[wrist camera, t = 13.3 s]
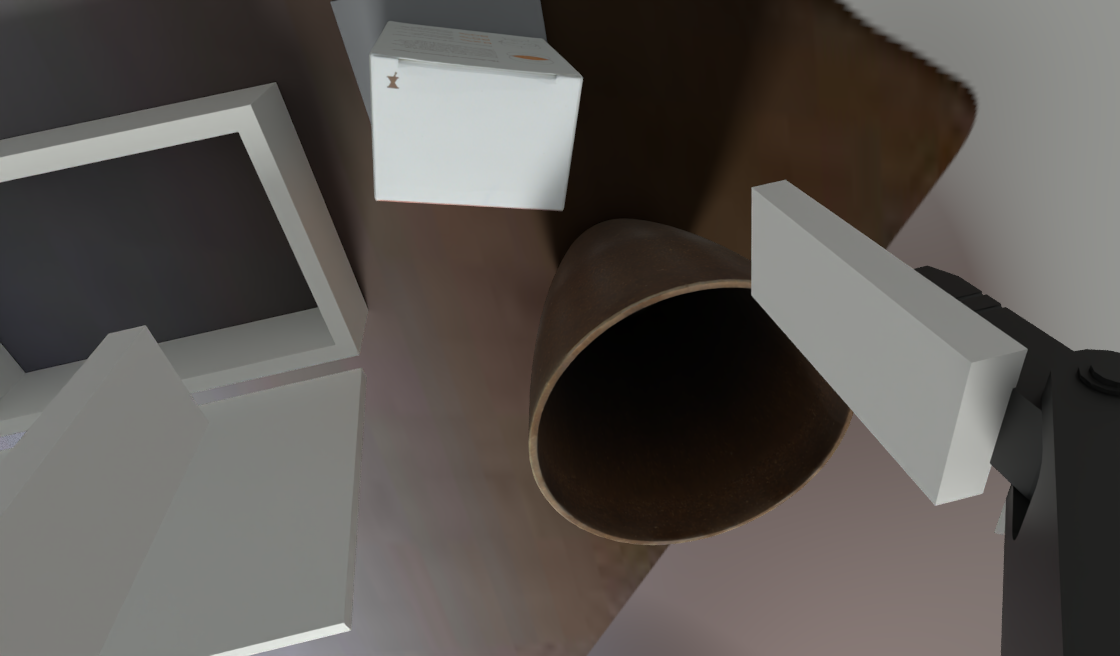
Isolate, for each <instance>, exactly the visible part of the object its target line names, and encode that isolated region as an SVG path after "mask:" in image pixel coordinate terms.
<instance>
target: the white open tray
mask: <svg viewBox="0 0 1120 656" xmlns="http://www.w3.org/2000/svg"><path fill="white" fill-rule="evenodd" d="M235 132H239V134H240V137H241V139H242V141H243V143H244V145H245V148H246V150H247V152H248V154H249V156H250V159H251V161H252V163H253V165H254V167H255V170H256V172H257V174H258V176H259V178H260V180H261V183H262V185H263V187H264V189H265V191H266V194H267V196H268V198H269V200H270V202H271V205H272V207H273V209H274V211H275V213H276V215H277V218H278V220H279V222H280V224H281V226H282V229H283V231H284V233H285V235H286V237H287V240H288V242H289V244H290V246H291V248H292V251H293V253H294V255H295V257H296V259H297V261H298V264H299V266H300V268H301V270H302V272H303V275H304V277H305V279H306V281H307V283H308V286H309V288H310V290H311V292H312V294H313V296H314V299H315V301H316V303H317V305H318V307H317V308H312V309H308V310H304V311H299V312H295V313H290V314H286V315H281V316H277V317H272V318H268V319H263V320H259V321H255V322H250V323H246V324H241V325H237V326H232V327H228V328H223V329H219V330H215V331H210V332H206V333H201V334H197V335H192V336H188V337H183V338H179V339H175V340H170V341H166V342H161V343H158V345H159V346H160V348H161V350H162V351H163V353H164V354H165V356H166V357H167V359H168V360H169V362H170V363H171V365H172V366H173V368H174V370H175V371H176V373H177V374H178V376H179V377H180V379H181V380H182V382H183V383H184V385H185V386H186V388H187V389H188V391H189V393H190V394H191V393H195V392H200V391H204V390H209V389H213V388H217V387H222V386H226V385H230V384H235V383H239V382H244V381H248V380H252V379H257V378H261V377H266V376H270V375H274V374H279V373H283V372H287V371H292V370H296V369H301V368H305V367H309V366H314V365H318V364H322V363H327V362H331V361H336V360H340V359H344V358H349V357H353V356H357V355H360V350H361V345H362V340H363V335H364V330H365V325H366V320H367V315H368V308H367V306H366V303H365V301H364V298H363V296H362V293H361V291H360V288H359V286H358V283H357V281H356V278H355V276H354V273H353V271H352V268H351V266H350V264H349V261H348V259H347V256H346V254H345V251H344V249H343V246H342V244H341V241H340V239H339V236H338V234H337V231H336V229H335V226H334V224H333V221H332V219H331V217H330V214H329V212H328V209H327V207H326V204H325V202H324V199H323V197H322V194H321V192H320V189H319V187H318V184H317V182H316V179H315V177H314V175H313V172H312V170H311V167H310V165H309V162H308V160H307V157H306V155H305V152H304V150H303V147H302V145H301V142H300V140H299V137H298V135H297V132H296V130H295V128H294V125H293V123H292V120H291V118H290V115H289V113H288V110H287V108H286V105H285V103H284V100H283V98H282V95H281V93H280V90H279V88H278V86H277V83H276V82H274V83H270V84H265V85H260V86H255V87H250V88H246V89H241V90H236V91H231V92H227V93H222V94H217V95H212V96H208V97H203V98H198V99H193V100H189V101H184V102H179V103H174V104H169V105H165V106H160V107H155V108H150V109H146V110H141V111H136V112H131V113H127V114H122V115H117V116H112V117H107V118H103V119H98V120H93V121H88V122H84V123H79V124H74V125H69V126H65V127H60V128H55V129H50V130H45V131H41V132H36V133H31V134H26V135H22V136H17V137H12V138H7V139H3V140H0V182H4V181H9V180H14V179H19V178H23V177H28V176H33V175H37V174H42V173H47V172H52V171H56V170H61V169H66V168H70V167H75V166H80V165H84V164H89V163H94V162H99V161H103V160H108V159H113V158H117V157H122V156H127V155H132V154H136V153H141V152H146V151H150V150H155V149H160V148H165V147H169V146H174V145H179V144H183V143H188V142H193V141H197V140H202V139H207V138H212V137H216V136H221V135H226V134H230V133H235ZM86 360H87V359H86ZM86 360H81V361H77V362H72V363H68V364H63V365H59V366H54V367H50V368H46V369H41V370H37V371H32V372H28V373H25V372H24V370H23V369H22V368H21V367H20V366H19V364H18V363H17V362H16V361H15V360H14V358H13V357H12V356H11V355H10V354H9V352H8V351H7V350H6V349H5V348H4V346H3V345H2V344H1V343H0V437H3V436H7V435H12V434H16V433H20V432H25V431H27V430H28V429H29V428H30V427H31V426H32V424H33V423H34V422H35V421H36V420H37V419H38V417H39V416H40V415H41V414H42V413H43V411H44V410H45V409H46V408H47V407H48V405H49V404H50V403H51V402H52V401H53V399H54V398H55V397H56V396H57V395H58V393H59V392H60V391H61V390H62V389H63V387H64V386H65V385H66V384H67V383H68V381H69V380H70V379H71V378H72V377H73V375H74V374H75V373H76V372H77V371H78V369H79V368H80V367H81V366H82V365H83V363H84V362H85V361H86Z"/></svg>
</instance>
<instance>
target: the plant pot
mask: <svg viewBox="0 0 1120 656" xmlns="http://www.w3.org/2000/svg"><path fill="white" fill-rule="evenodd" d="M853 413H854V412H853V411H852V410H851V409H850V408H849V406H848V405H847V404H846V403H845V402H844V401H843V400H842V398H841V397H840V396H839V395H838V394H837V393H836V391H835V390H834V389H833V388H832V387H831V386H830V385H829V383H828V382H827V381H826V380H825V379H824V378H823V377H822V375H821V374H820V373H819V372H818V371H817V370H816V369H815V367H814V366H813V365H812V364H811V363H810V362H809V361H808V359H807V358H806V357H805V356H804V355H803V354H802V353H801V351H800V350H799V349H798V348H797V347H796V346H795V345H794V343H793V342H792V341H791V340H790V339H789V338H788V337H787V335H786V334H785V333H784V332H783V331H782V330H781V329H780V327H779V326H778V325H777V324H776V323H775V322H774V321H773V319H772V318H771V317H770V316H769V315H768V314H767V313H766V311H765V310H764V309H763V308H762V307H761V306H760V305H759V303H758V302H757V301H756V300H755V299H754V298H753V296H752V295H751V261H750V260H748V259H746V258H744V257H743V256H741V255H739V254H737V253H735V252H733V251H731V250H729V249H727V248H725V247H723V246H721V245H719V244H717V243H715V242H712V241H710V240H708V239H705V238H703V237H701V236H698V235H695V234H693V233H690V232H687V231H684V230H681V229H678V228H675V227H672V226H668V225H664V224H660V223H656V222H651V221H646V220H638V219H627V218H622V219H611V220H607V221H604V222H601V223H598V224H596V225H594V226H592V227H591V228H589V229H587V230H586V231H585V232H583V233H582V234H581V235H580V236H579V237H578V238H577V239H576V240H575V241H574V242H573V243H572V245H571V246H570V248H569V249H568V251H567V252H566V254H565V256H564V257H563V259H562V261H561V263H560V265H559V267H558V269H557V272H556V274H555V276H554V278H553V281H552V284H551V286H550V289H549V292H548V295H547V298H546V301H545V304H544V308H543V312H542V316H541V320H540V324H539V329H538V334H537V339H536V345H535V351H534V358H533V365H532V375H531V386H530V406H529V457H530V463H531V468H532V472H533V475H534V478H535V480H536V483H537V485H538V487H539V488H540V490H541V492H542V493H543V495H544V497H545V498H546V499H547V500H548V502H549V503H550V504H551V505H552V506H553V507H554V508H555V510H556V511H557V512H558V513H560V514H561V515H562V516H564V517H565V518H566V519H567V520H569V521H570V522H571V523H573V524H575V525H576V526H578V527H580V528H582V529H584V530H586V531H588V532H590V533H593V534H595V535H598V536H601V537H604V538H608V539H611V540H615V541H619V542H626V543H632V544H642V545H665V544H676V543H684V542H690V541H695V540H700V539H704V538H708V537H711V536H715V535H718V534H721V533H724V532H727V531H730V530H733V529H735V528H738V527H740V526H742V525H744V524H746V523H748V522H751V521H753V520H755V519H757V518H759V517H760V516H762V515H764V514H766V513H768V512H769V511H771V510H773V509H774V508H776V507H778V506H779V505H780V504H782V503H783V502H785V501H786V500H787V499H789V498H790V497H792V496H793V495H794V494H795V493H797V492H798V491H799V490H800V489H801V488H803V487H804V486H805V485H806V484H807V483H808V482H809V481H810V480H811V479H812V478H813V477H814V476H815V475H816V474H817V473H818V472H819V471H820V470H821V469H822V467H823V466H824V465H825V464H826V463H827V461H828V460H829V459H830V458H831V456H832V455H833V453H834V452H835V450H836V449H837V447H838V446H839V444H840V442H841V441H842V439H843V437H844V435H845V433H846V431H847V429H848V426H849V424H850V421H851V419H852V416H853Z"/></svg>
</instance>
